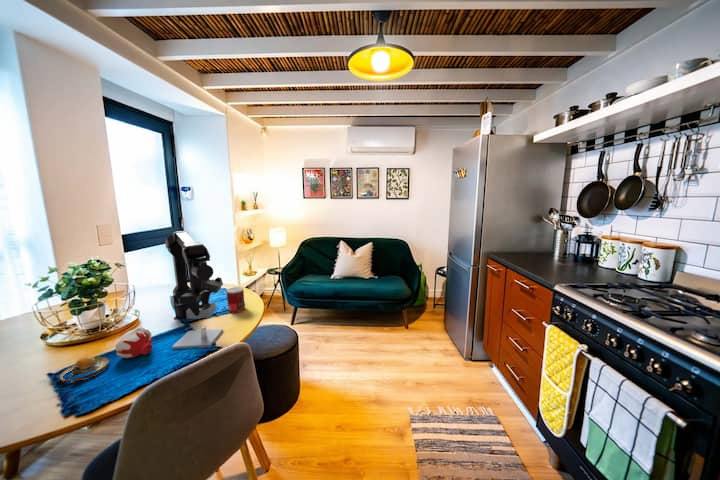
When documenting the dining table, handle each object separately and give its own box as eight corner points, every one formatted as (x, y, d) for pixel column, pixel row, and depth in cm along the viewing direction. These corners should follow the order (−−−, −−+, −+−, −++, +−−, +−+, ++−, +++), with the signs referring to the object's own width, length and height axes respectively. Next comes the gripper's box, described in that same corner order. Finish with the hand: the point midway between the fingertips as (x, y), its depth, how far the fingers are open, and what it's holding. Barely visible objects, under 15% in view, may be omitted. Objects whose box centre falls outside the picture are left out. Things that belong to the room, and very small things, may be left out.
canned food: (240, 312, 130) (239, 292, 128) (225, 312, 130) (223, 292, 128) (247, 306, 138) (246, 287, 136) (232, 306, 138) (231, 286, 136)
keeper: (172, 349, 100) (170, 337, 99) (189, 332, 111) (187, 322, 110) (210, 346, 101) (209, 335, 100) (223, 331, 113) (222, 320, 112)
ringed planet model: (107, 357, 95) (104, 338, 94) (113, 370, 87) (109, 350, 86) (58, 374, 86) (53, 354, 85) (59, 391, 78) (54, 369, 77)
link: (187, 318, 102) (186, 310, 102) (196, 311, 109) (195, 303, 108) (208, 317, 103) (207, 309, 102) (216, 310, 110) (215, 302, 109)
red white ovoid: (140, 341, 104) (166, 352, 100) (105, 357, 94) (133, 370, 89) (139, 320, 102) (165, 331, 98) (103, 334, 92) (131, 347, 87)
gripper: (207, 281, 95) (211, 320, 97) (227, 268, 113) (230, 301, 116) (175, 282, 94) (180, 322, 96) (200, 269, 112) (204, 303, 115)
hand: (201, 311), depth 106 cm, fingers closed on link, 7 cm apart
